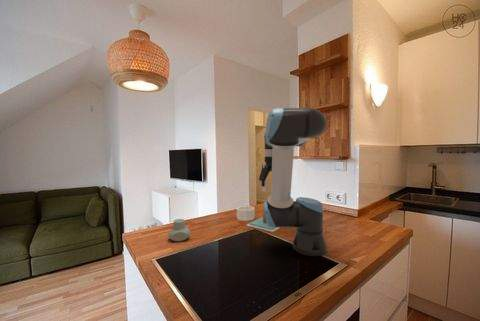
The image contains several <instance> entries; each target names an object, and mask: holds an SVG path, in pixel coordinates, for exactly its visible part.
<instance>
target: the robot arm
mask: <svg viewBox="0 0 480 321" xmlns="http://www.w3.org/2000/svg"><path fill="white" fill-rule="evenodd" d="M267 114H268V115H267V118H266V123H265V124H266V125H265V131H264V136H263V137H264V163H265V164H264V163H263V164H262V168H261V171H260V174H259V178H258V180H259V181H260V182H261V192H263V193H266V192H267V181H266V179H267V177H268V176H269V174H270V173H271V179H270V180H271V182H270V184H271V186H270V188H271V189H270V195H269V196H268V197H267V200H266V201H264V202H263V209H265V215H266V222H267V225H268V226H269V227H276V228H277V227H280V228H296V232H295V234H294V238H293V240H292V248H293V250H294V251H295V252H296V253H299V254H301V255H303V256H308V257H321V256H323V255H325V254H326V253H328V245H327V242H326V239H325V236H324V231H323V230H324V229H323V228H324V210H323V203H322V202H321V201H319V199H314V198H310V197H305V196H304V197H302V196H300V197H296V199H295V200H294V199H293V198H292V196H291V193H292V183H293V181H292V180H293V168H294V167H293V166H294V153H295V152H294V151H295V148H296V147H304V146H306V144H307V141H309V140H310V139H317V138H319V137H321V136H322V135H323V134H324V133H325V132H326V131H327V130H328V129H327V127H328V119H327V118H326V116H325V114H324V113H322V112H321V111H320V110H319V109H316V108H313V107H278V108H273V109H271V110H270V111H269V112H268V113H267Z"/></svg>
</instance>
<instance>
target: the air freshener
mask: <svg viewBox="0 0 480 321" xmlns="http://www.w3.org/2000/svg"><path fill="white" fill-rule="evenodd" d="M172 222H173V228H172V229H170V231H169V232H168V238H169V239H171V240H172V241H173V242H183V241H185V240H187V239H188V238H189V236H190V235H191V230H190V229H189V227H187V226H186V220H185V219H183V218H178V219H174V220H173V221H172Z"/></svg>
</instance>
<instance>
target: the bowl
mask: <svg viewBox="0 0 480 321" xmlns="http://www.w3.org/2000/svg"><path fill="white" fill-rule="evenodd" d="M255 212H256V211H255V207H254V206H253V205H252V206H251V205H241V206H237V207H236V219H237V220H238V221H243V222H246V221H247V222H248V221H249V222H250V221H252V220H253V221H254V220H255V218H256V217H255V216H256V215H255Z"/></svg>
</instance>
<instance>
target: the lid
mask: <svg viewBox="0 0 480 321" xmlns="http://www.w3.org/2000/svg"><path fill="white" fill-rule="evenodd" d="M248 224H249V225H252V226H256V227H260V228H264V229H269V230H273V229H275V228H276V227H269V226H268V225H267V222H266V215H265V208H262V216H261V217H259V218H257V219H254V220H253V221H251V222H249V223H248ZM252 226H251V227H252ZM256 227H255V228H256ZM260 228H259V229H260ZM264 229H263V230H264Z"/></svg>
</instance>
